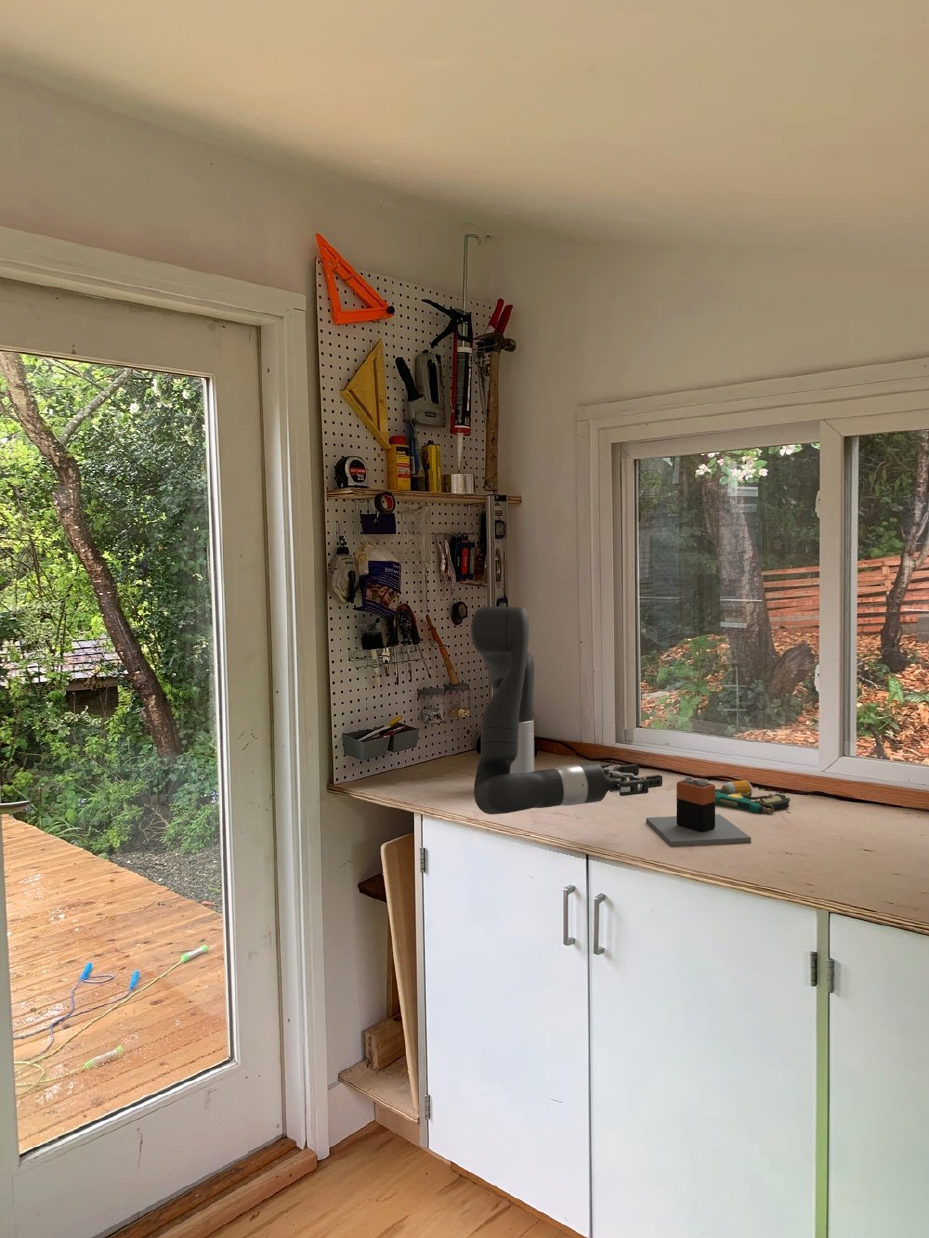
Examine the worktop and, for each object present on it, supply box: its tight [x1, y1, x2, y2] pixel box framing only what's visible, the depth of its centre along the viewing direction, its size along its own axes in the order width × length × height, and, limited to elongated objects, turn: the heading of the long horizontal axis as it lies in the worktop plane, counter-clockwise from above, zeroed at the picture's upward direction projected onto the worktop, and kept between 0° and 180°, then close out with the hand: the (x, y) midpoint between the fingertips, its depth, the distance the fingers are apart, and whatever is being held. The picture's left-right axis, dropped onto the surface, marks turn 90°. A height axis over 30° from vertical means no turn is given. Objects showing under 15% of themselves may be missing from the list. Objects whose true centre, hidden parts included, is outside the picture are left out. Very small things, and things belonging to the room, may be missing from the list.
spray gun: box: [715, 779, 791, 815], centre depth 205 cm, size 4×17×15 cm
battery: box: [676, 776, 716, 832], centre depth 185 cm, size 4×7×10 cm, turn 37°
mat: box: [645, 813, 752, 847], centre depth 186 cm, size 16×16×1 cm
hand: (649, 774), depth 181 cm, fingers open, 8 cm apart
